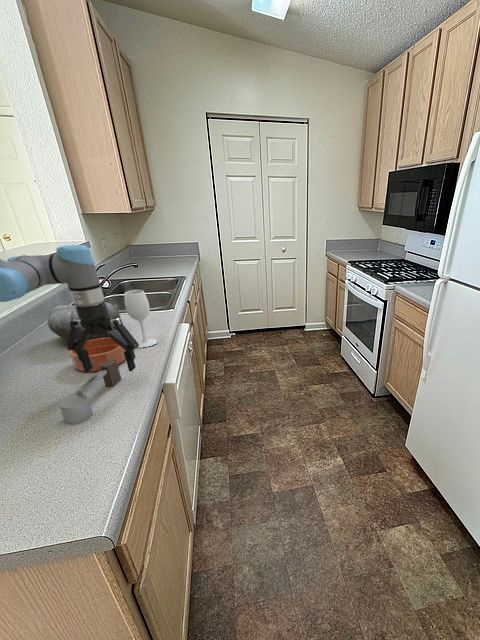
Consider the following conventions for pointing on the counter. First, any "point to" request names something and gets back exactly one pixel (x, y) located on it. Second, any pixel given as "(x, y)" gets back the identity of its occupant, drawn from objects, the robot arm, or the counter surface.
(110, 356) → the bowl
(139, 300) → the wineglass
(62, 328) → the gourd
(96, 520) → the counter surface
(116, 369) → the ladle
